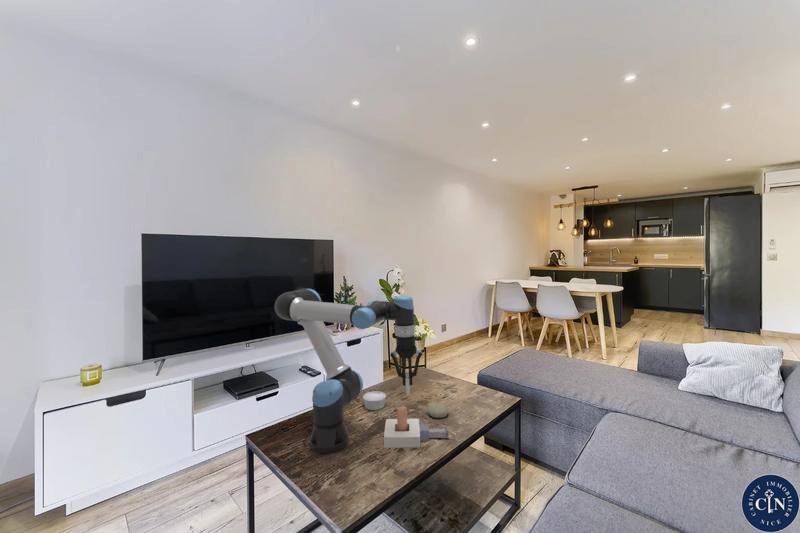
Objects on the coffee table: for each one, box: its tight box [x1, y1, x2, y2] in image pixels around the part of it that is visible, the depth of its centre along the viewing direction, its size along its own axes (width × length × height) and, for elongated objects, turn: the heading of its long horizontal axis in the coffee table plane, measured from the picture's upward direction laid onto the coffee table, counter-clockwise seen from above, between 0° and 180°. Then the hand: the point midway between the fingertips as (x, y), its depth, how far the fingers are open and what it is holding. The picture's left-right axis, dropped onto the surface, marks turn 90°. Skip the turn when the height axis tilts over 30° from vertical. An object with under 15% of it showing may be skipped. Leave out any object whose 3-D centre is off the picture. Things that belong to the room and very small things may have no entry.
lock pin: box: [429, 426, 449, 439], centre depth 137 cm, size 10×3×3 cm, turn 88°
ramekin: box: [362, 390, 387, 411], centre depth 166 cm, size 11×11×5 cm
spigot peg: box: [396, 405, 408, 431], centre depth 138 cm, size 4×4×12 cm
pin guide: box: [419, 423, 430, 442], centre depth 138 cm, size 4×5×4 cm
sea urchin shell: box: [427, 402, 449, 419], centre depth 156 cm, size 9×8×8 cm
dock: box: [383, 418, 421, 449], centre depth 138 cm, size 14×14×4 cm
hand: (408, 393), depth 137 cm, fingers closed
